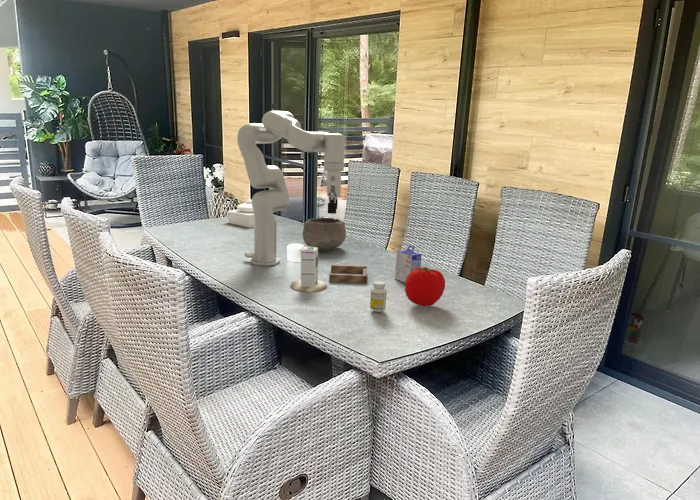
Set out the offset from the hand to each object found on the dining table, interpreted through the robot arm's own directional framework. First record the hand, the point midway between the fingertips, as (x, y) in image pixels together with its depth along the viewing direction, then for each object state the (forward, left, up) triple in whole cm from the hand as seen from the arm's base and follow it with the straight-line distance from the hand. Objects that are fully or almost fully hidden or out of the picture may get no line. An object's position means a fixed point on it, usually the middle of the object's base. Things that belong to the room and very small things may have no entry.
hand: (332, 211), depth 206 cm
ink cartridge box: (+31, +4, -29) cm, 42 cm away
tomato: (+35, -22, -28) cm, 50 cm away
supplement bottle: (+18, -30, -28) cm, 45 cm away
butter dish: (-52, +99, -29) cm, 116 cm away
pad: (-8, -8, -28) cm, 30 cm away
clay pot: (-6, +50, -28) cm, 58 cm away
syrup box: (-8, -8, -28) cm, 30 cm away
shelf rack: (+7, +6, -28) cm, 30 cm away
